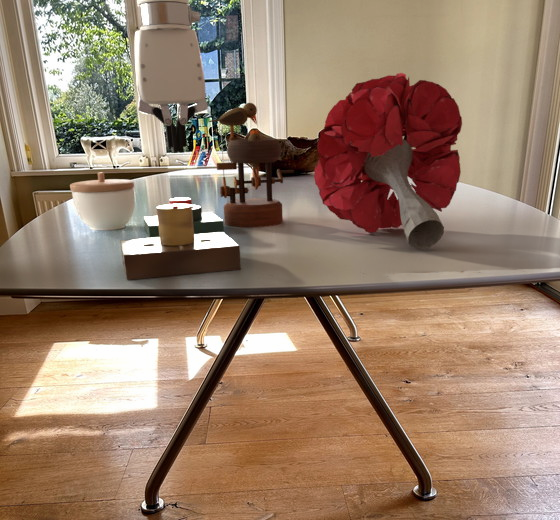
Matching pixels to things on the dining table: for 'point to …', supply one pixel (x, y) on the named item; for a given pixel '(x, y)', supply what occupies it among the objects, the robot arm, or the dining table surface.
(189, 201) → the button
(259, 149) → the wooden bird automaton
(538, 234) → the dining table surface
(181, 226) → the golden brown short cylinder
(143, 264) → the panel
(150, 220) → the button block
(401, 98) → the bouquet
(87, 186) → the trinket box
